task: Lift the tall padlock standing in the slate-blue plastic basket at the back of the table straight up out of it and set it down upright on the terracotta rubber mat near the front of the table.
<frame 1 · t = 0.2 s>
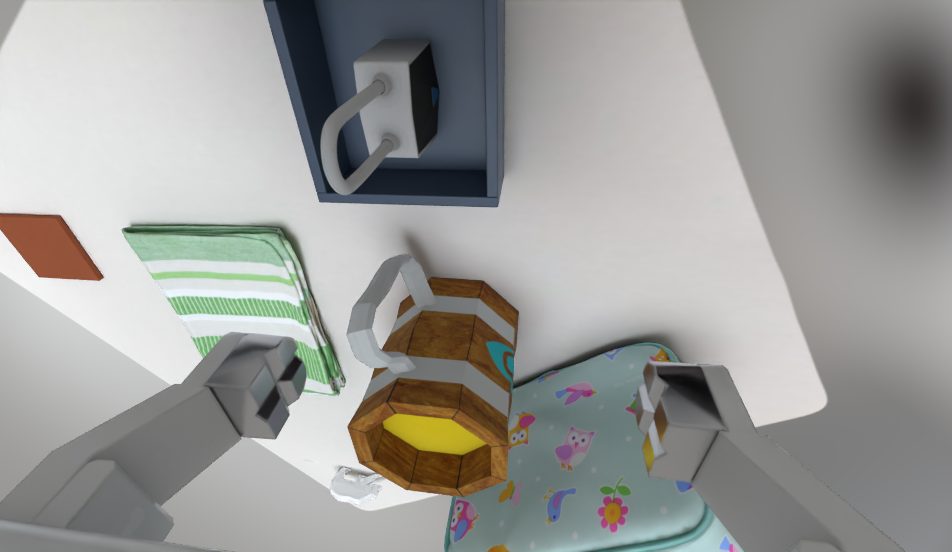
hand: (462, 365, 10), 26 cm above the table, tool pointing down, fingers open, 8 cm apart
basket: (413, 88, 31), on the table
mug: (447, 303, 44), on the table
dish towel: (254, 311, 48), on the table
lunch box: (571, 390, 49), on the table
padlock: (412, 90, 31), resting on basket
mat: (51, 246, 46), on the table
figurine: (361, 472, 68), on the table
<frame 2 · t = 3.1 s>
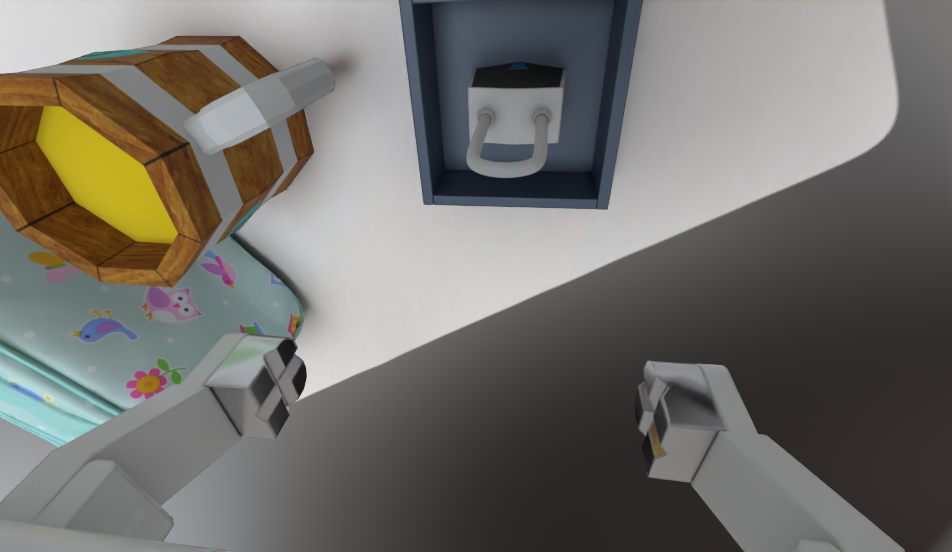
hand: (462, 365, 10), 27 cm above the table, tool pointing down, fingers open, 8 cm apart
basket: (518, 91, 31), on the table
mug: (265, 105, 35), on the table
lunch box: (201, 242, 44), on the table
padlock: (518, 92, 31), resting on basket
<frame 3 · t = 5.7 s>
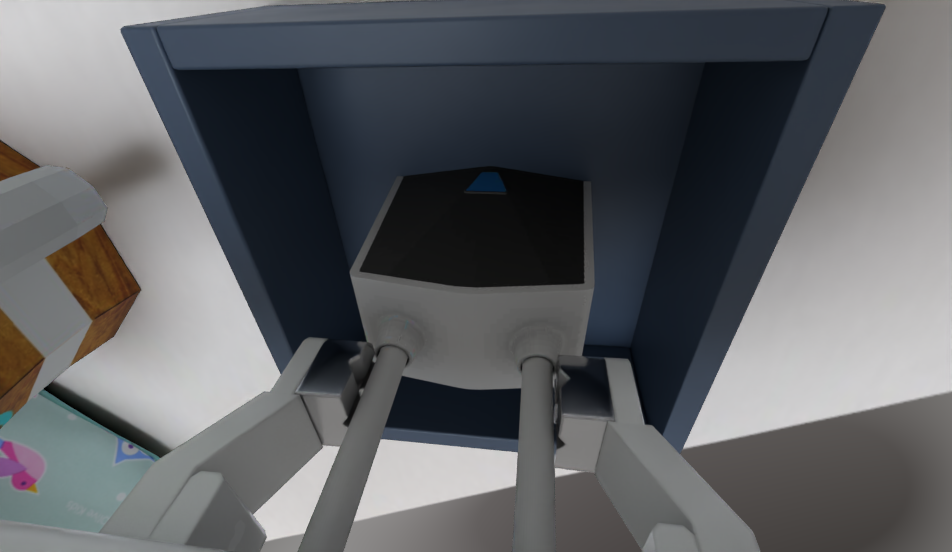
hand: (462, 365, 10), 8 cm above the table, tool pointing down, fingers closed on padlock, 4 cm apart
basket: (492, 213, 16), on the table
mug: (36, 217, 19), on the table
lunch box: (14, 391, 29), on the table
padlock: (492, 218, 15), resting on basket, touching gripper
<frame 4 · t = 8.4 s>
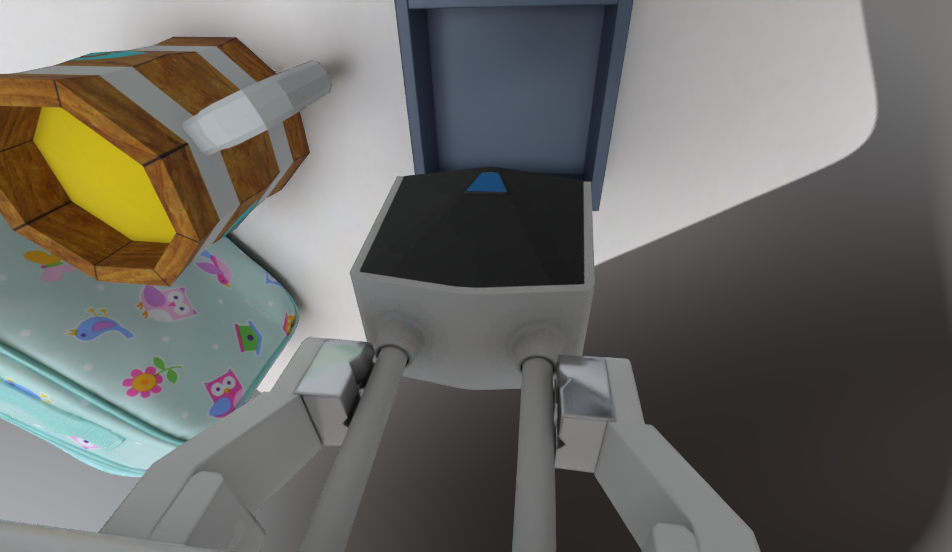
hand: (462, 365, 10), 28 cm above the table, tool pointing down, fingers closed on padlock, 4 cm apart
basket: (512, 94, 32), on the table
mug: (261, 106, 35), on the table
lunch box: (195, 241, 45), on the table
padlock: (492, 218, 15), point 20 cm above the table, touching gripper
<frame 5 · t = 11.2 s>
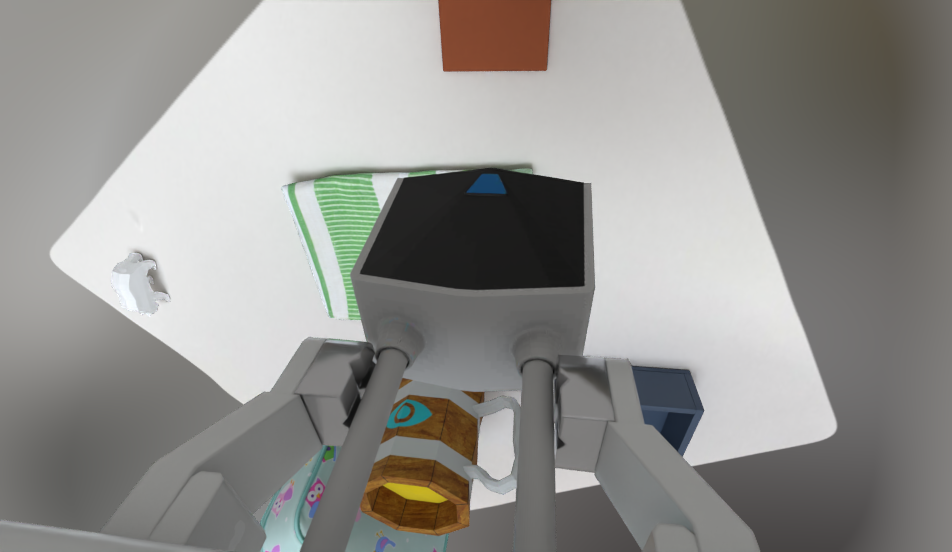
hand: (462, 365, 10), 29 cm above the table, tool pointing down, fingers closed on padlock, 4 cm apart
basket: (619, 401, 54), on the table
mug: (459, 391, 57), on the table
dish towel: (419, 248, 44), on the table
lunch box: (387, 441, 67), on the table
padlock: (492, 220, 15), point 22 cm above the table, touching gripper
mat: (494, 9, 30), on the table
figurine: (155, 277, 51), on the table
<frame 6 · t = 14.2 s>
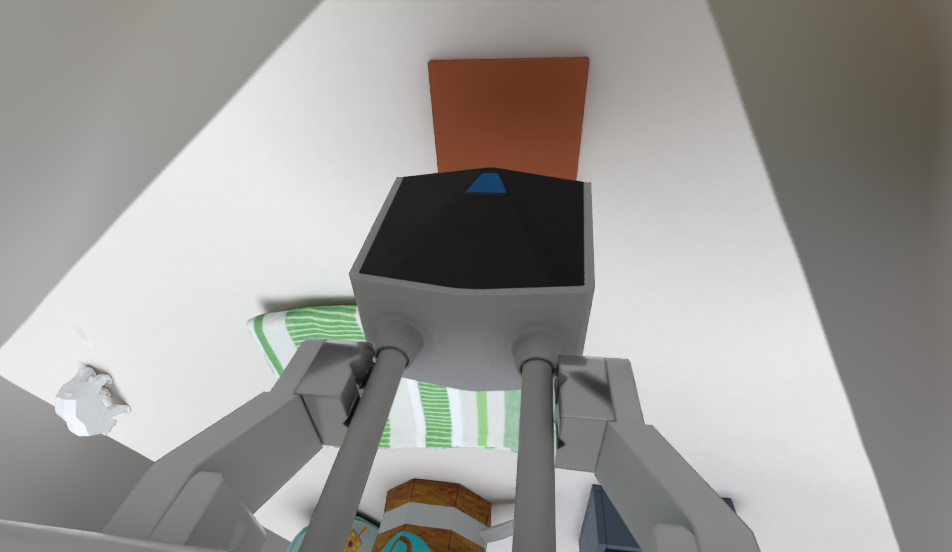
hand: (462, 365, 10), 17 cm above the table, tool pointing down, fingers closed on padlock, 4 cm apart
basket: (647, 522, 47), on the table
mug: (463, 504, 50), on the table
dish towel: (415, 374, 37), on the table
lunch box: (383, 541, 60), on the table
padlock: (492, 219, 15), point 10 cm above the table, touching gripper
mat: (506, 137, 23), on the table
figurine: (112, 388, 45), on the table
when the fingers open (7 cm above the table, at t = 16.8 s): padlock stays where it is, resting on mat.
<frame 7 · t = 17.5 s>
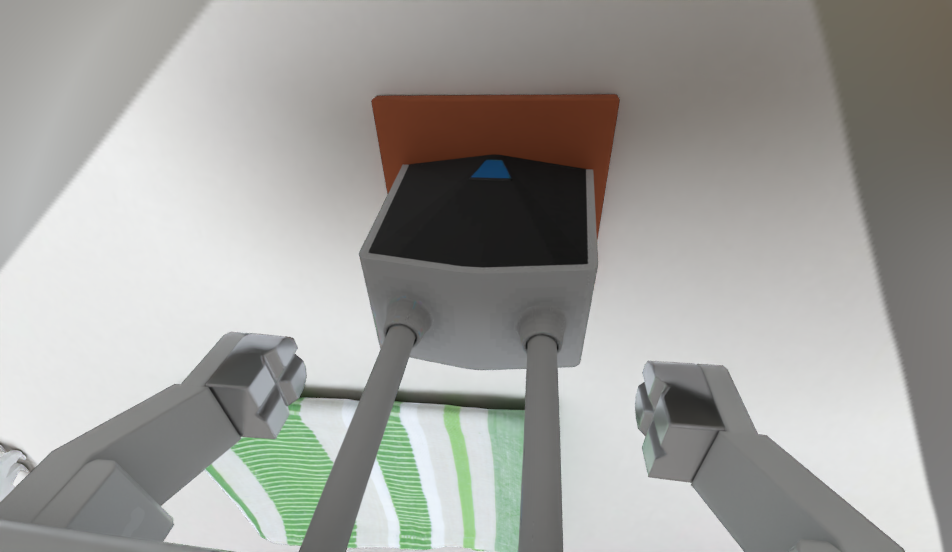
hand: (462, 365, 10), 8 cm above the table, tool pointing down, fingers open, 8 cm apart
dish towel: (384, 467, 30), on the table
padlock: (495, 206, 16), resting on mat
mat: (493, 204, 16), on the table
figurine: (29, 463, 37), on the table
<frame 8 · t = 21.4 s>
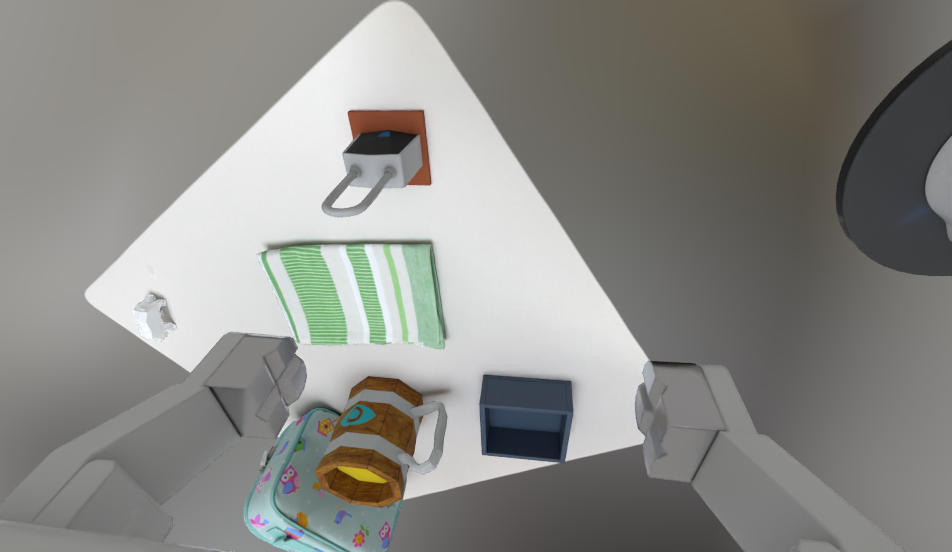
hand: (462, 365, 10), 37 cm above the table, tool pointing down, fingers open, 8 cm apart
basket: (525, 405, 69), on the table
mug: (403, 397, 73), on the table
dish towel: (360, 293, 59), on the table
lunch box: (352, 437, 82), on the table
padlock: (391, 148, 45), resting on mat
mat: (392, 148, 46), on the table
figurine: (165, 311, 67), on the table
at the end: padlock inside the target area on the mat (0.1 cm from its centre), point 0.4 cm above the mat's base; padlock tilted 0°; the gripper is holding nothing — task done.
